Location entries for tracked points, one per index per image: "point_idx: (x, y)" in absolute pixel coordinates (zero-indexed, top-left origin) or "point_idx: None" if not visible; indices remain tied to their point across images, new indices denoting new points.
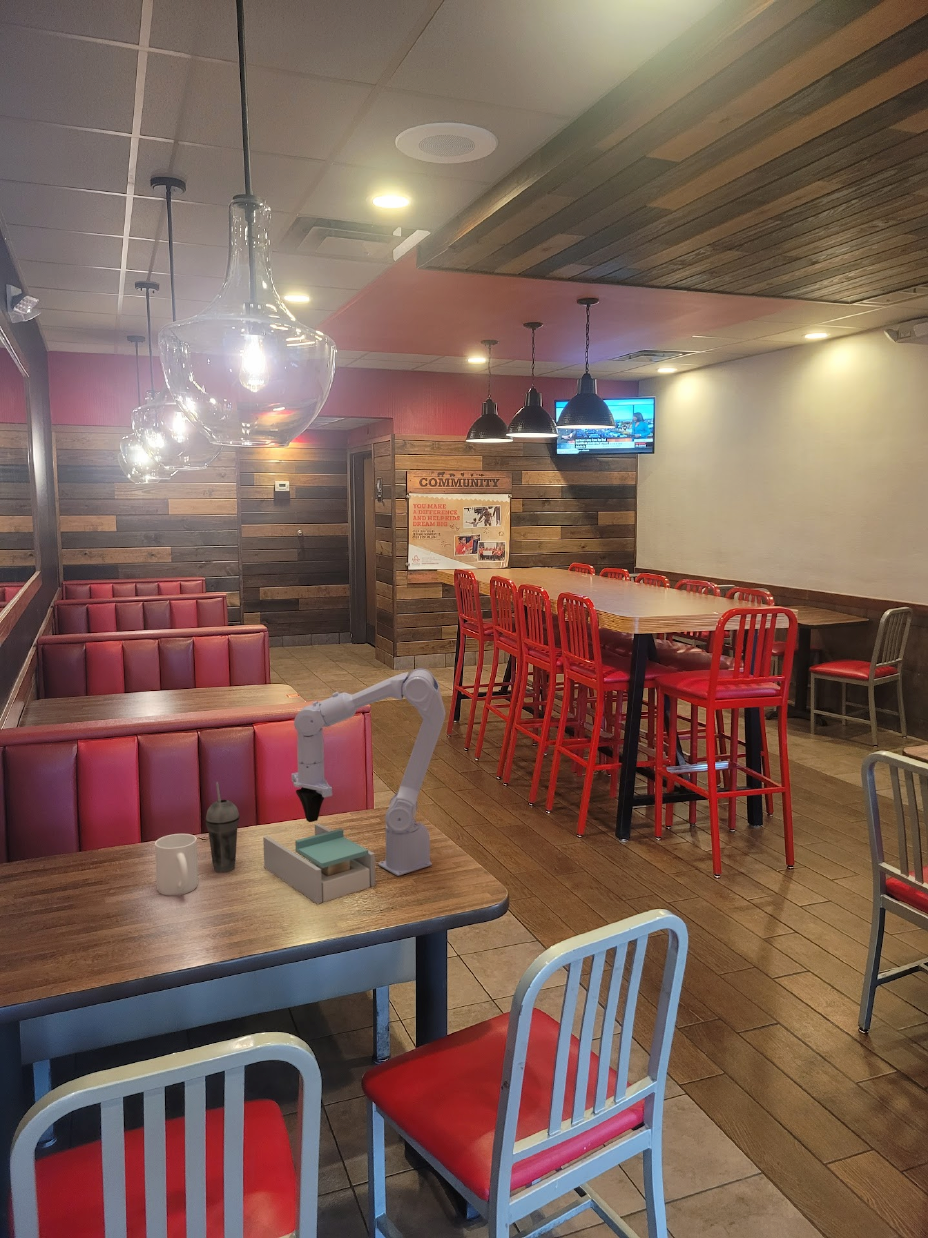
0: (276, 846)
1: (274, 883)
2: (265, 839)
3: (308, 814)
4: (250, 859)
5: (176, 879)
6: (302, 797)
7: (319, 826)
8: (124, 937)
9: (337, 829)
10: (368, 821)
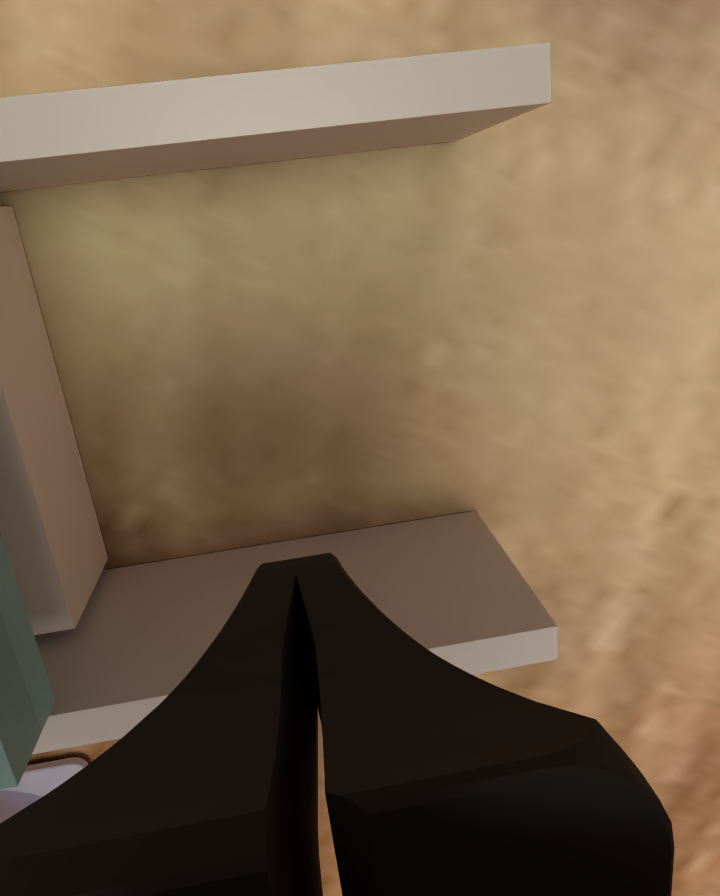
0: (212, 78)
1: (117, 52)
2: (492, 50)
3: (236, 612)
4: (665, 70)
5: None
6: (328, 758)
7: (478, 644)
8: None
9: (4, 756)
10: (708, 882)
